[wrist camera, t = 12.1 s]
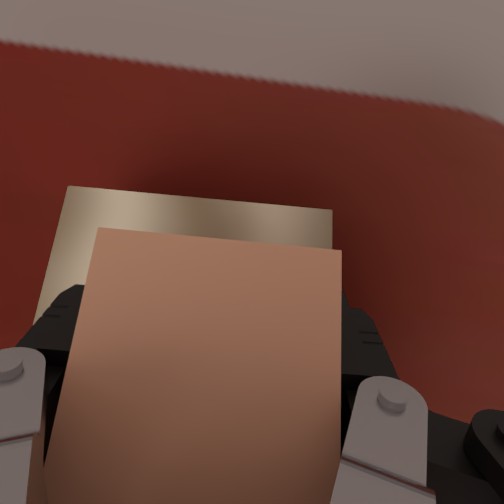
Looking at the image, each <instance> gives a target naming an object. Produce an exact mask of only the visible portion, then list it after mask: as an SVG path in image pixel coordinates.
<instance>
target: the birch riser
mask: <svg viewBox="0 0 504 504" xmlns="http://www.w3.org/2000/svg"><path fill="white" fill-rule="evenodd" d="M98 227H103V228H113V229H124V230H134V231H145V232H155V233H166V234H176V235H187V236H197V237H208V238H218V239H229V240H239V241H250V242H260V243H270V244H281V245H291V246H302V247H312V248H323V249H332V210H328V209H317V208H306V207H295V206H284V205H273V204H262V203H251V202H240V201H230V200H219V199H208V198H197V197H186V196H175V195H164V194H153V193H143V192H132V191H121V190H110V189H99V188H88V187H77V186H68V188H67V192H66V196H65V200H64V204H63V208H62V212H61V216H60V220H59V224H58V228H57V232H56V236H55V240H54V244H53V247H52V251H51V255H50V259H49V263H48V267H47V271H46V275H45V279H44V283H43V287H42V291H41V295H40V299H39V303H38V307H37V311H36V315H35V319H34V323H33V325H34V324H35V322H36V321H37V320H38V319H39V318H40V317H42V314H43V313H44V312H45V310H46V309H47V308H48V307H50V304H51V303H52V302H53V301H54V300H55V298H56V297H57V296H58V295H59V294H60V293H61V292H63V291H65V290H66V289H68V288H70V287H72V286H73V285H75V284H80V285H85V283H86V278H87V274H88V269H89V265H90V260H91V256H92V252H93V247H94V243H95V238H96V234H97V229H98Z"/></svg>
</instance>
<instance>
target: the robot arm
mask: <svg viewBox="0 0 504 504" xmlns="http://www.w3.org/2000/svg"><path fill="white" fill-rule="evenodd" d="M84 287H85V285H80V284H75V285H73V286H72V287H70V288H68V289H66V290H65V291H63V292H61V293H60V294H59V295H58V296H57V297H56V298H55V300H54V301H53V302H52V303H51V304H50V307H48V308H47V309H46V310H45V312H44V313H43V314H42V317H40V318H39V319H38V320H37V321H36V322H35V324H34V325H33V326H32V327H31V328H30V330H29V331H28V332H27V333H26V334H25V336H24V337H23V338H22V339H21V340H20V342H19V343H18V344H17V345H16V346H15V347H14V348H7V349H2V350H0V504H48V498H47V492H46V486H45V480H44V464H45V460H46V455H47V451H48V447H49V442H50V438H51V433H52V429H53V424H54V420H55V416H56V411H57V407H58V402H59V398H60V393H61V389H62V385H63V380H64V376H65V371H66V367H67V362H68V358H69V354H70V349H71V345H72V340H73V336H74V331H75V327H76V323H77V318H78V314H79V309H80V305H81V300H82V296H83V291H84ZM329 504H504V411H499V410H492V409H488V410H481V411H479V412H477V413H476V414H475V415H474V417H473V418H472V421H471V423H470V424H467V423H464V422H461V421H458V420H455V419H452V418H448V417H445V416H442V415H439V414H437V413H434V412H432V411H430V410H428V408H427V404H426V402H425V400H424V398H423V397H422V396H421V395H420V394H419V393H418V392H417V391H416V390H415V389H414V388H413V387H411V386H410V385H408V384H406V383H404V382H402V381H400V380H399V378H398V376H397V374H396V371H395V369H394V367H393V364H392V362H391V360H390V358H389V355H388V353H387V351H386V349H385V346H383V342H382V340H381V337H380V335H378V331H377V328H376V326H375V324H374V322H373V320H372V319H371V318H370V317H369V316H368V315H367V314H366V313H365V312H363V311H362V310H361V309H357V308H350V307H349V304H348V302H347V299H346V296H345V294H344V291H343V290H342V291H341V458H340V463H339V467H338V471H337V475H336V479H335V483H334V487H333V491H332V495H331V499H330V503H329Z"/></svg>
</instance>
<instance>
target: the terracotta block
mask: <svg viewBox="0 0 504 504" xmlns="http://www.w3.org/2000/svg"><path fill="white" fill-rule="evenodd" d="M341 291H342V250H333V249H323V248H312V247H302V246H291V245H281V244H270V243H260V242H250V241H239V240H229V239H218V238H208V237H197V236H187V235H176V234H166V233H155V232H145V231H134V230H124V229H113V228H103V227H98V229H97V234H96V238H95V243H94V247H93V252H92V256H91V260H90V265H89V269H88V274H87V278H86V283H85V287H84V291H83V296H82V300H81V305H80V309H79V314H78V318H77V323H76V327H75V331H74V336H73V340H72V345H71V349H70V354H69V358H68V362H67V367H66V371H65V376H64V380H63V385H62V389H61V393H60V398H59V402H58V407H57V411H56V416H55V420H54V424H53V429H52V433H51V438H50V442H49V447H48V451H47V455H46V460H45V464H44V480H45V486H46V492H47V498H48V504H329V503H330V499H331V495H332V491H333V487H334V483H335V479H336V475H337V471H338V467H339V463H340V458H341Z"/></svg>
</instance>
